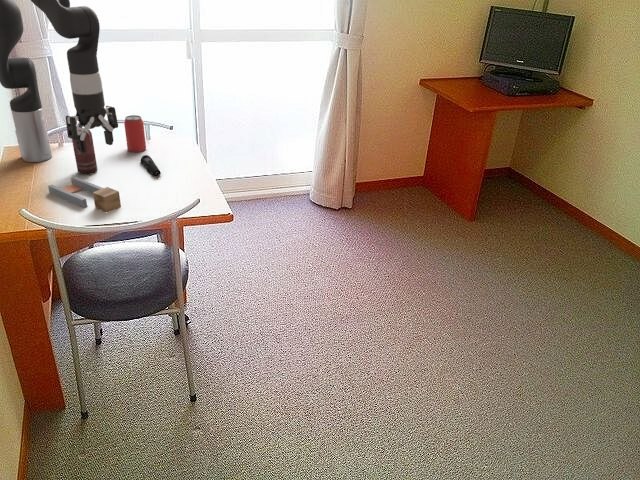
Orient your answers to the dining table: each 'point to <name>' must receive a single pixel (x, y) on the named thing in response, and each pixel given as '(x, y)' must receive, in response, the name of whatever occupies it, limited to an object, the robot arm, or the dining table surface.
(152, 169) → the electric trimmer
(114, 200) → the block
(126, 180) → the dining table surface
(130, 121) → the beer can
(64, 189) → the channel
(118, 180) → the dining table surface
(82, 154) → the can
